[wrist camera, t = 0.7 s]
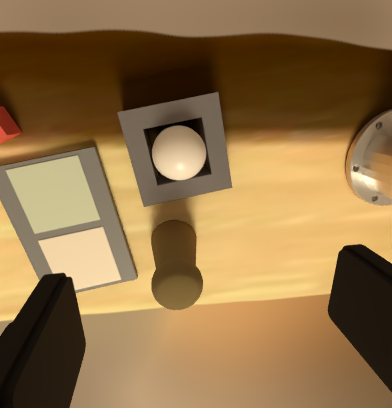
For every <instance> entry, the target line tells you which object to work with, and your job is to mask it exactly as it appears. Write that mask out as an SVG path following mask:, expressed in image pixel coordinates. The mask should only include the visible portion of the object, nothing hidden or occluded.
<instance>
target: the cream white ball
mask: <svg viewBox="0 0 392 408" xmlns="http://www.w3.org/2000/svg"><path fill="white" fill-rule="evenodd" d="M152 157H153V161H154V164H155V166H156V168H157V169H158V171H159V172H160V173H161V174H162V175H164V176H165V177H167V178H169V179H173V180H186V179H189V178H191V177H193V176H195V175H196V174H197V173H198V172H199V171H200V170H201V168H202V167H203V165H204V162H205V159H206V148H205V145H204V142H203V140H202V139H201V137H200V136H199V135H198V134H197V133H196V132H195V131H194V130H192V129H191V128H189V127H187V126H183V125H173V126H170V127H167V128H165V129H164V130H162V131H161V132H160V133H159V134H158V136H157V137H156V139H155V142H154V145H153V149H152Z"/></svg>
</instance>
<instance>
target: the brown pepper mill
mask: <svg viewBox="0 0 392 408" xmlns="http://www.w3.org/2000/svg"><path fill="white" fill-rule="evenodd" d="M151 244H152V250H153V255H154V260H155V266H156V270H155V272H154V275H153V277H152V292H153V295H154V297H155V299H156V300H157V301H158V303H159V304H161V305H162V306H164V307H165V308H167V309H171V310H182V309H185V308H188V307H190V306H191V305H193V304H194V303H195V302H196V301H197V300H198V298H199V297H200V295H201V292H202V288H203V279H202V276H201V273H200V271H199V269H198V268H197V267H196V234H195V231H194V230H193V229H192V227H191V226H190V225H188V224H187V223H185V222H182V221H179V220H170V221H167V222H164V223H162V224H161V225H159V226H158V227H157V228H156V229H155V230H154V232H153V235H152V238H151Z"/></svg>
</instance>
